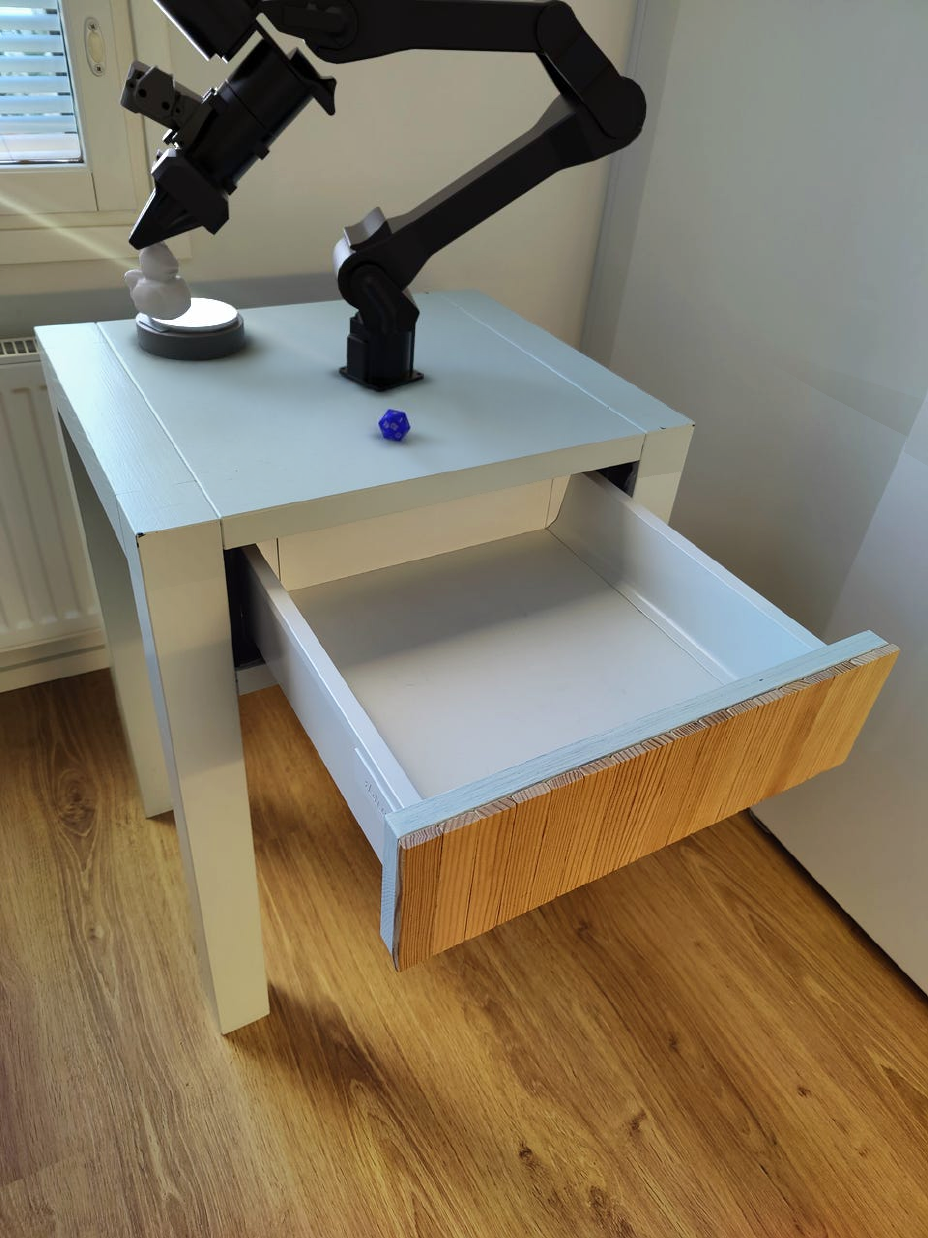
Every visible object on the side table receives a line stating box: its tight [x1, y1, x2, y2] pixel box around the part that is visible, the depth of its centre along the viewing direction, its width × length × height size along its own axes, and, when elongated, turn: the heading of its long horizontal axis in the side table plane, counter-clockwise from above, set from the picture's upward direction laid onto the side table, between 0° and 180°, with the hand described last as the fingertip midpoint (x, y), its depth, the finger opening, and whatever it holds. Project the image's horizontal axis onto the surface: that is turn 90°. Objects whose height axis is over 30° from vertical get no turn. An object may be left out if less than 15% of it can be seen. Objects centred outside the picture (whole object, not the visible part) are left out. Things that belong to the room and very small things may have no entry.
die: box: [377, 408, 411, 442], centre depth 78 cm, size 3×3×3 cm
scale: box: [135, 297, 246, 361], centre depth 92 cm, size 11×11×3 cm
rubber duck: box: [124, 240, 192, 321], centre depth 80 cm, size 5×7×8 cm
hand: (133, 243), depth 78 cm, fingers closed on rubber duck
